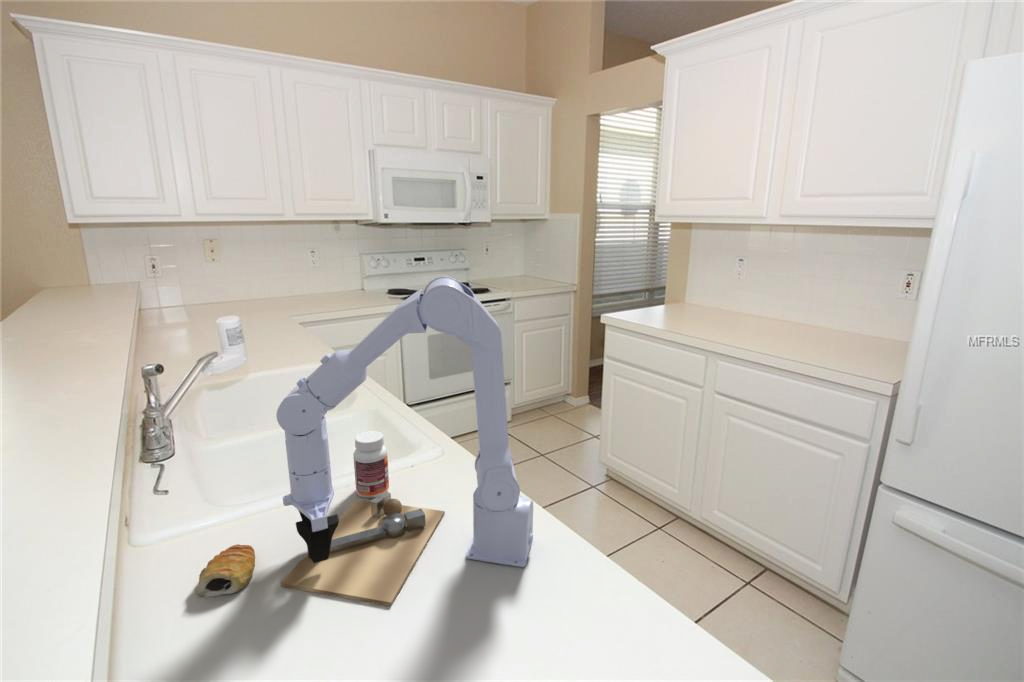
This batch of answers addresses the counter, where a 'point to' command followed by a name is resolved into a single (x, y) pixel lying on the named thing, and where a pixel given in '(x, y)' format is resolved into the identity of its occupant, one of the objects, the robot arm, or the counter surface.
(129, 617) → the counter surface
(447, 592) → the counter surface
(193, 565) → the counter surface
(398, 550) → the board
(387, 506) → the brown ball
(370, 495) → the pill bottle
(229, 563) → the pastry
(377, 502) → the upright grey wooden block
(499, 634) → the counter surface
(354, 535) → the lever
